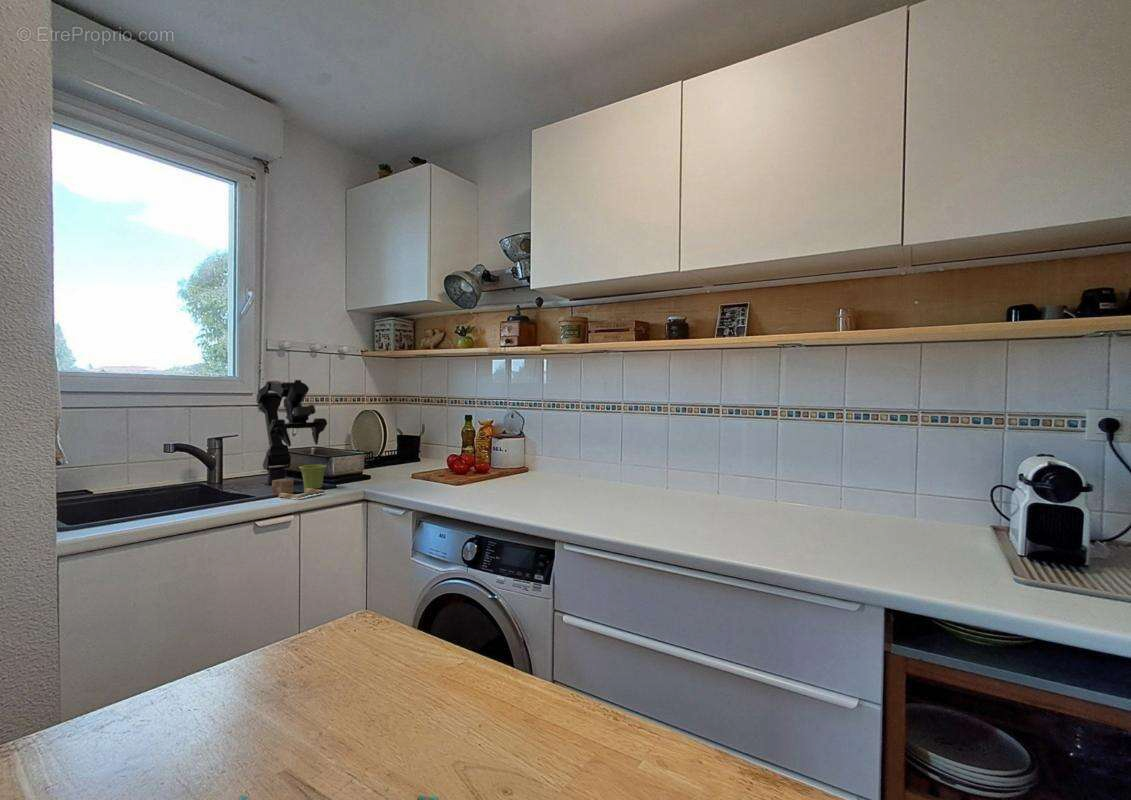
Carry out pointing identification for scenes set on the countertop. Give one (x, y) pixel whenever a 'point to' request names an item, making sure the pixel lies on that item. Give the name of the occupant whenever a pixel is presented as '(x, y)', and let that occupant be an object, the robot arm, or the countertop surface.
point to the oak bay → (306, 490)
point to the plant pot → (313, 476)
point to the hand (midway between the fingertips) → (303, 444)
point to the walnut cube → (283, 486)
